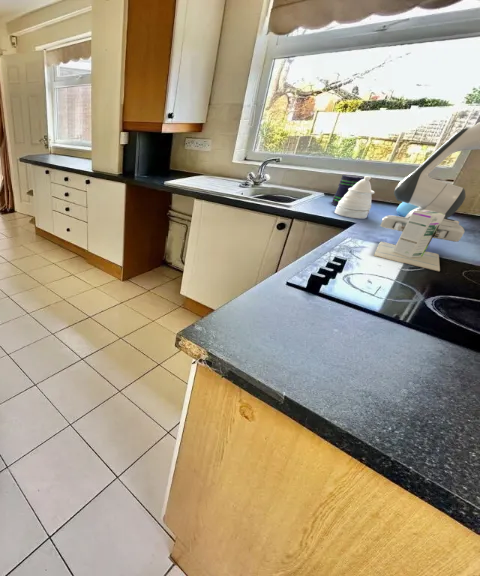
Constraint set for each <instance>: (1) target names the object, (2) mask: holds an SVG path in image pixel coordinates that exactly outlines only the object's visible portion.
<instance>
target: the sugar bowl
mask: <svg viewBox="0 0 480 576" xmlns="http://www.w3.org/2000/svg"><path fill="white" fill-rule="evenodd" d="M415 208H418V206H415V205H412V204H410V203H405V202H401V203H399V205H398V206H397V208H396V213H397V216H399V217H406V215H407V214H408V213H409V212H410V211H412V210H413V209H415Z"/></svg>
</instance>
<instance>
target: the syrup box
mask: <svg viewBox="0 0 480 576" xmlns="http://www.w3.org/2000/svg"><path fill="white" fill-rule="evenodd" d="M444 217H445V214H443V213H439V212H435V211H429V210H421V211H413V213H412V214H411V216H410V218H409V220H408V222H407V224H406V226H405V228H404V230H403V232H402V231H401V234H400V236H399V237H398V240H397V242H396V244H395V245H396V246H395V248H394V250H393V252H395V253H397V254H400V255H403V256H406V257H409V258H412V257H422V256H423V254H424V252H425V251H426V252H427V249H428V247H429V245H430V243H431V242H432V240H433V239H434V238H433V236H434V235H435V233H436V231H437V229H438V228H439V226H440V224H441V222H442V220H443V219H444Z"/></svg>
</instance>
